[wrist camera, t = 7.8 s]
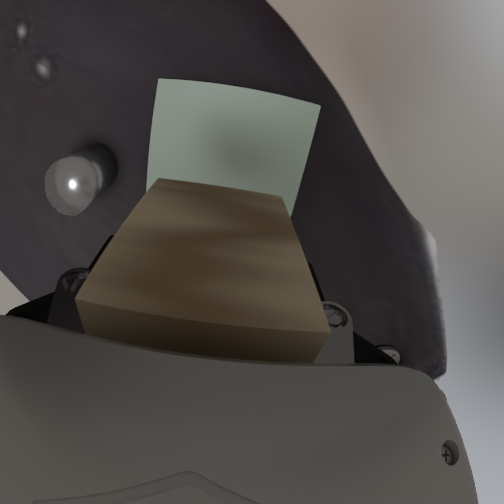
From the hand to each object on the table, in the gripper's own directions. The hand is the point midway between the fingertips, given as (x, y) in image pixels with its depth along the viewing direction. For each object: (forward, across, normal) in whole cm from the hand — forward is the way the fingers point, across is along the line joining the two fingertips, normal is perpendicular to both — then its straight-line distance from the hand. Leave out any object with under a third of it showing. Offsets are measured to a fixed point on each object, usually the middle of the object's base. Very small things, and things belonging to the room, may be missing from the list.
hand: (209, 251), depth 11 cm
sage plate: (+16, 0, 0) cm, 16 cm away
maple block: (+1, 0, 0) cm, 1 cm away
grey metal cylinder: (+16, +13, +2) cm, 20 cm away
